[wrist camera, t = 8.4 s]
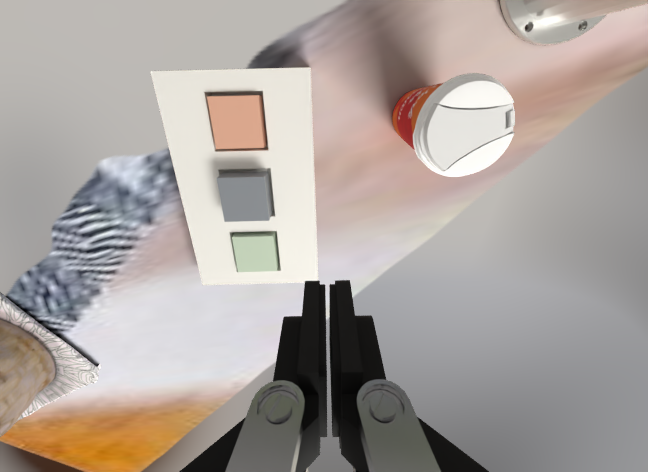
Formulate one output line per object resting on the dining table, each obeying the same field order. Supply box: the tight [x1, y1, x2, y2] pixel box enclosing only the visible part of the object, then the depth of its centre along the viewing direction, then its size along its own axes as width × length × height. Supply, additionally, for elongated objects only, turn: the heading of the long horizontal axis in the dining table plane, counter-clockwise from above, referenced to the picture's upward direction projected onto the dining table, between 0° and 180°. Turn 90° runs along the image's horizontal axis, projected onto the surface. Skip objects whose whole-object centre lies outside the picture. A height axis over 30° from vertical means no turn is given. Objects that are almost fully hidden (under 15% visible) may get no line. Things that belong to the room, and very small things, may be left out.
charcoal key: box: [217, 171, 272, 222], centre depth 35 cm, size 5×5×2 cm
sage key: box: [232, 231, 279, 272], centre depth 40 cm, size 5×5×2 cm
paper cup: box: [392, 73, 515, 177], centre depth 28 cm, size 8×8×14 cm
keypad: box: [150, 67, 318, 285], centre depth 37 cm, size 16×26×3 cm, turn 1°
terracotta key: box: [207, 95, 267, 149], centre depth 32 cm, size 5×5×2 cm
